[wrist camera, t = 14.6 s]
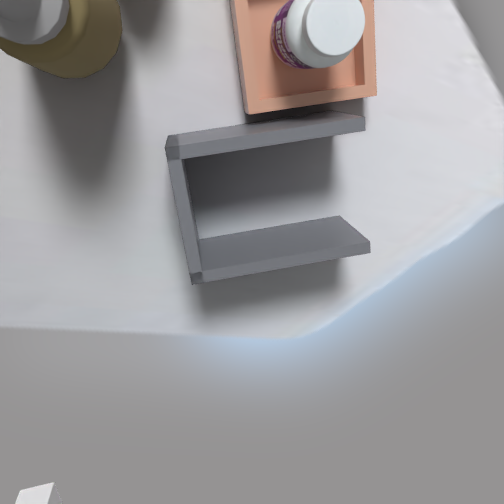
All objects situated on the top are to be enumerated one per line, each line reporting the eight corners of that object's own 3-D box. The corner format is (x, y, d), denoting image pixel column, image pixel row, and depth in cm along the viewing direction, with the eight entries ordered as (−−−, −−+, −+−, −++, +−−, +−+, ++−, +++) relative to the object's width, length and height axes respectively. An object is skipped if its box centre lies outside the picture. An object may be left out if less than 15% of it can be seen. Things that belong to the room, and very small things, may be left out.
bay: (190, 250, 45) (191, 284, 37) (168, 135, 41) (164, 147, 33) (340, 225, 46) (370, 252, 39) (332, 110, 42) (364, 116, 35)
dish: (244, 112, 41) (249, 114, 38) (225, -30, 37) (229, -39, 34) (363, 94, 42) (376, 95, 39) (358, -46, 38) (371, -56, 35)
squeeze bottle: (108, -44, 36) (41, -156, 19) (141, 66, 39) (108, 54, 22) (4, -20, 35) (-158, -112, 18) (45, 89, 38) (-63, 95, 21)
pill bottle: (255, 32, 38) (277, 17, 29) (303, -17, 37) (341, -47, 28) (297, 83, 40) (330, 84, 31) (343, 38, 39) (391, 25, 30)
